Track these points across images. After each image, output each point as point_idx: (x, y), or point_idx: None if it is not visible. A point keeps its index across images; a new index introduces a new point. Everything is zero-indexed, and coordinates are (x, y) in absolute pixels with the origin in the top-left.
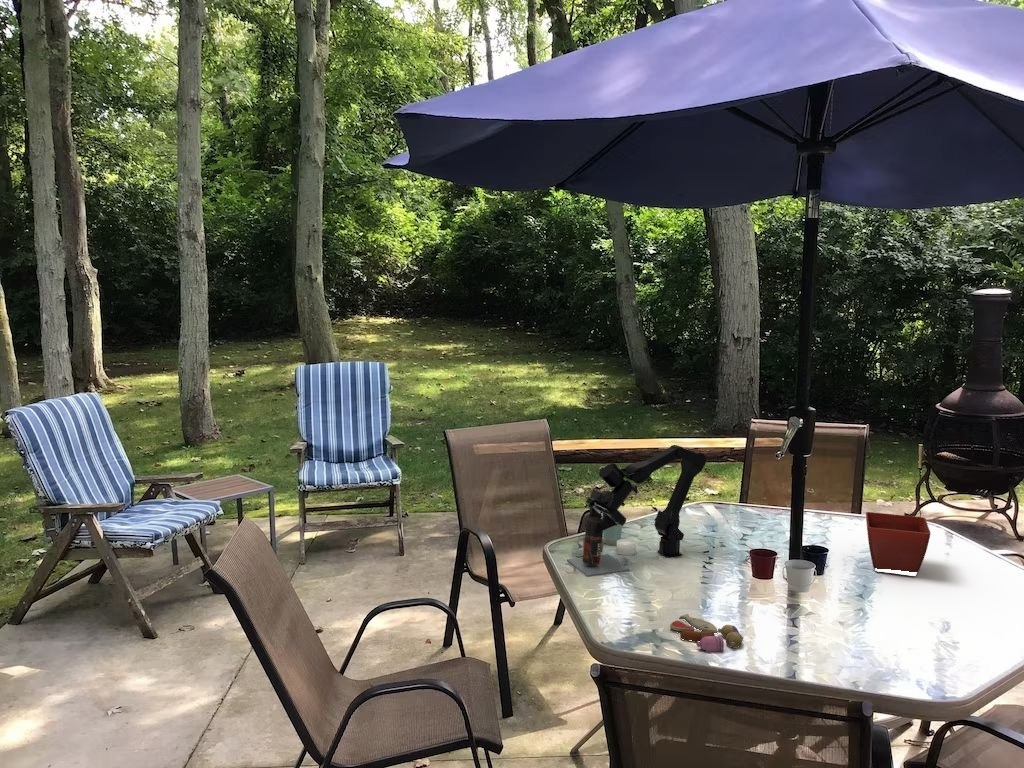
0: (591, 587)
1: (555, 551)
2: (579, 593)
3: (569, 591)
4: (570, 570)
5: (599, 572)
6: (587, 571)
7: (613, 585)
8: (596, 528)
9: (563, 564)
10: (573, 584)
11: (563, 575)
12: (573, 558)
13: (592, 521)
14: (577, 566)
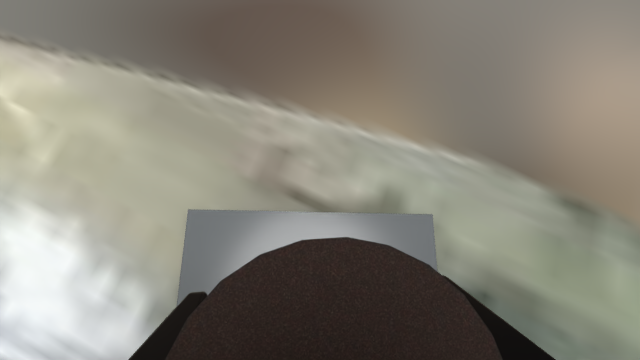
0: (61, 169)
1: (574, 220)
2: (32, 90)
3: (76, 64)
4: (301, 174)
5: (189, 290)
6: (232, 234)
7: (18, 286)
8: (174, 327)
9: (387, 178)
10: (137, 111)
11: (255, 118)
12: (435, 251)
13: (233, 292)
14: (317, 217)
